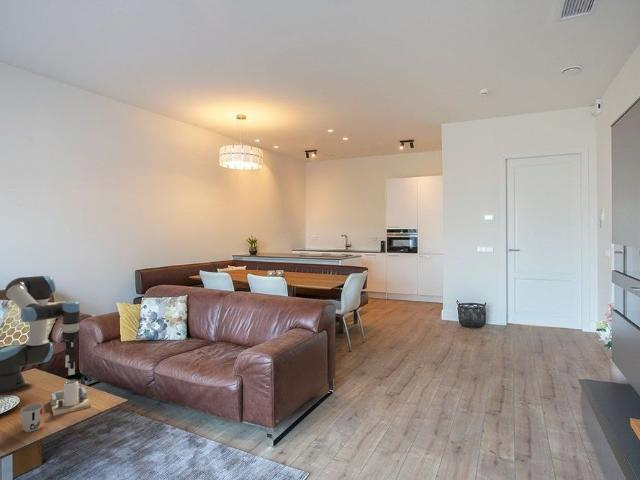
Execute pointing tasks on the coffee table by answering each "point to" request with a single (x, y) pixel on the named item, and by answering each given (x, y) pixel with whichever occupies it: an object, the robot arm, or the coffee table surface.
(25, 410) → the cup
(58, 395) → the grey frame
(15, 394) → the coffee table surface
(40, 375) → the coffee table surface
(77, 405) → the base plate
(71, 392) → the can
